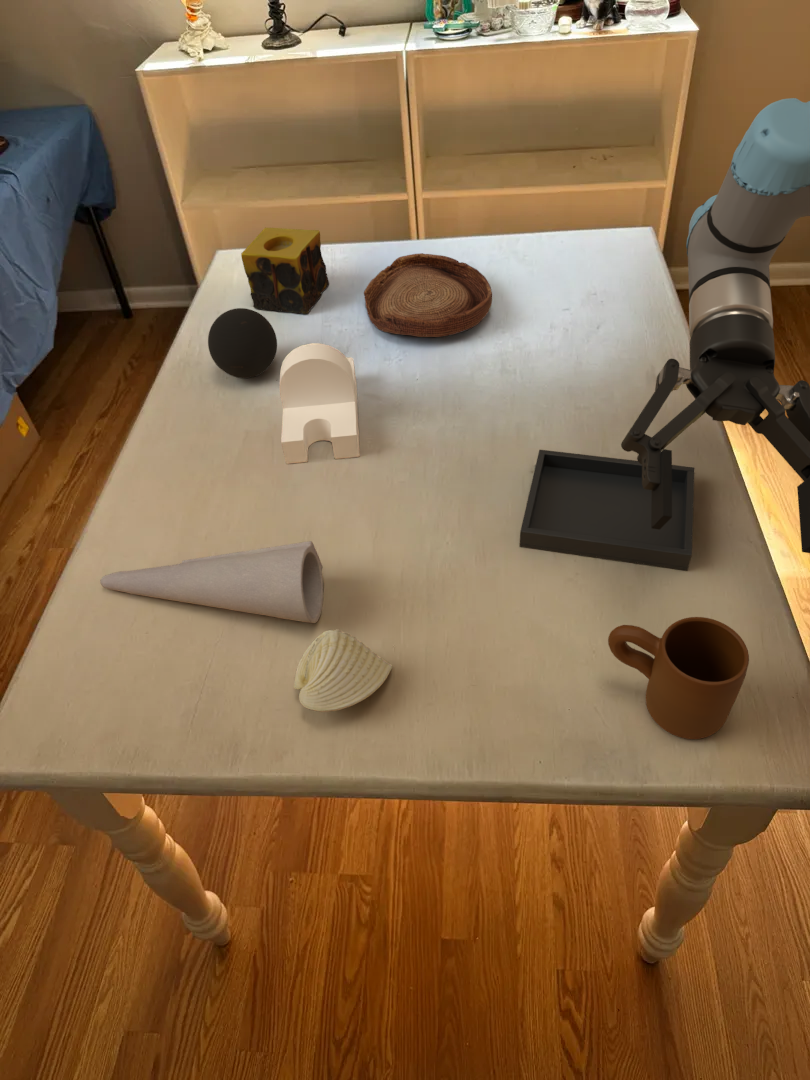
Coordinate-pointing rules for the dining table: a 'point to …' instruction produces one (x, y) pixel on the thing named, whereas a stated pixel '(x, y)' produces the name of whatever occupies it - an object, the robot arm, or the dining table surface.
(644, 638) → the mug
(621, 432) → the dining table surface
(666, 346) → the dining table surface
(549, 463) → the tray
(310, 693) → the seashell
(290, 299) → the candle
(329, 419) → the block with arch cutout
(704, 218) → the robot arm
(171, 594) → the planter
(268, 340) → the speaker
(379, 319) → the basket
